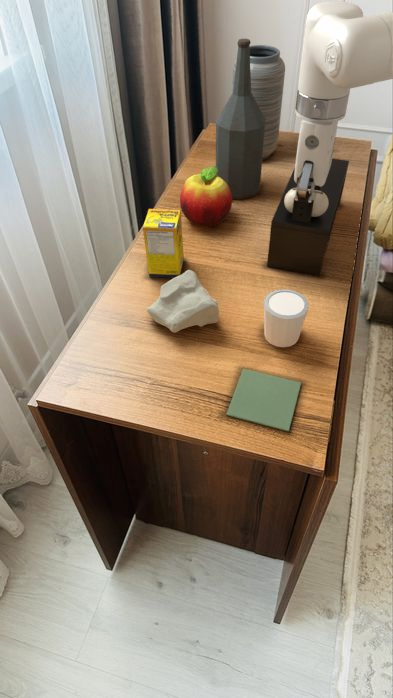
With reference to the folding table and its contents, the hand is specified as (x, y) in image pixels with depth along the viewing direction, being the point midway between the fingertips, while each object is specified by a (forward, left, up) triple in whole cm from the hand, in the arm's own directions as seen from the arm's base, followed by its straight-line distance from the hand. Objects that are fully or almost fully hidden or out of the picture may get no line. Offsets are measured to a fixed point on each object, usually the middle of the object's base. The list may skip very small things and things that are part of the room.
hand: (305, 207), depth 87 cm
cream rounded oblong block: (0, 0, -1) cm, 1 cm away
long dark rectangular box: (0, -9, -11) cm, 14 cm away
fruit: (+21, -8, -11) cm, 25 cm away
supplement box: (+23, +10, -11) cm, 28 cm away
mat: (-2, +35, -11) cm, 36 cm away
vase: (+19, -40, -11) cm, 46 cm away
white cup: (-2, +21, -11) cm, 24 cm away
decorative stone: (+15, +22, -11) cm, 29 cm away
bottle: (+18, -22, -11) cm, 31 cm away
